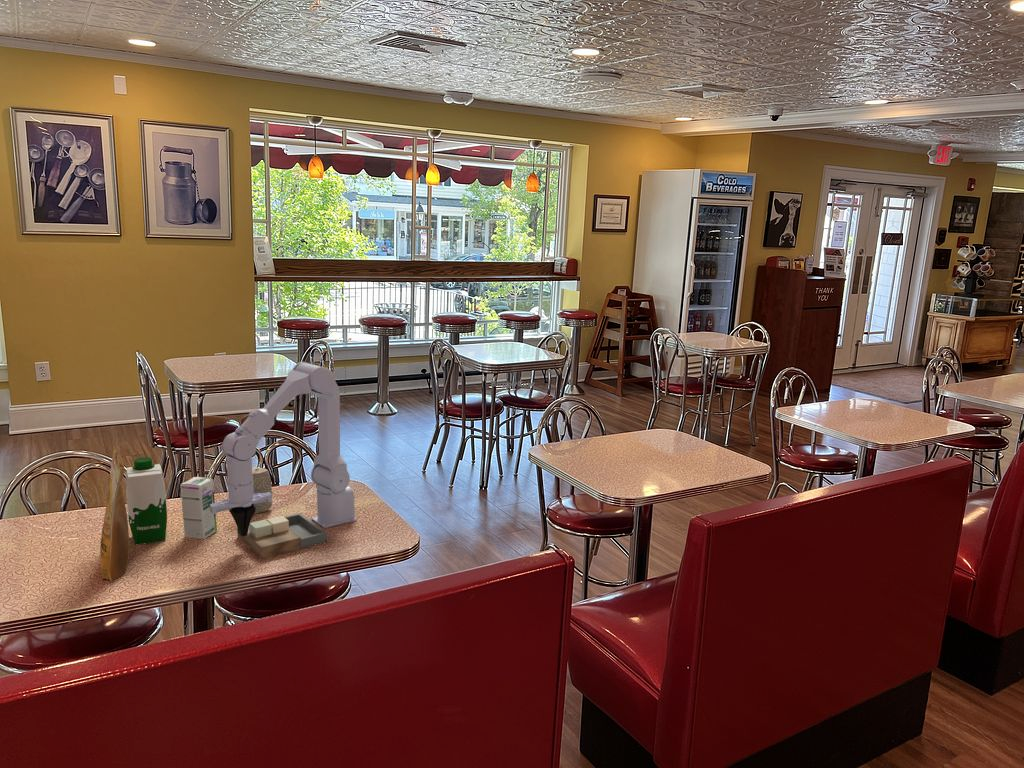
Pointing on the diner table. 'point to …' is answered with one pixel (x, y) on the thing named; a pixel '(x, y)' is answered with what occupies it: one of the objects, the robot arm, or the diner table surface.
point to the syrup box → (198, 507)
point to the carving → (261, 487)
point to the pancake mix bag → (115, 524)
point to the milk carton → (146, 501)
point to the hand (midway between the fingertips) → (243, 534)
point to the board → (272, 543)
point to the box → (306, 530)
